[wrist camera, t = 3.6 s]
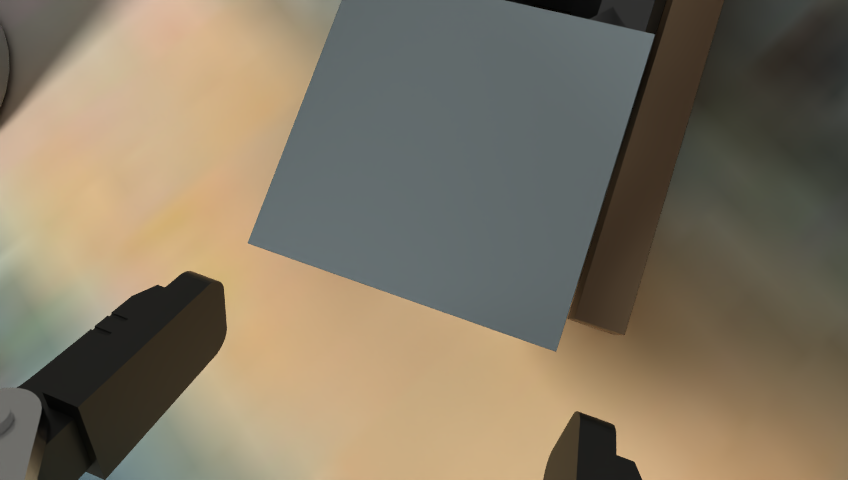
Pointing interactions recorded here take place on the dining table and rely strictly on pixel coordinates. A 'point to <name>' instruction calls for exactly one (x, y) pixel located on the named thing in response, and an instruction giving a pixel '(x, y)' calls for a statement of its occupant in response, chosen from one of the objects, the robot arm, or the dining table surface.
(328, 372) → the dining table surface
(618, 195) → the guide channel
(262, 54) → the dining table surface
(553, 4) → the rubber ring
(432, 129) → the gray block
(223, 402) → the dining table surface
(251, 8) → the dining table surface
